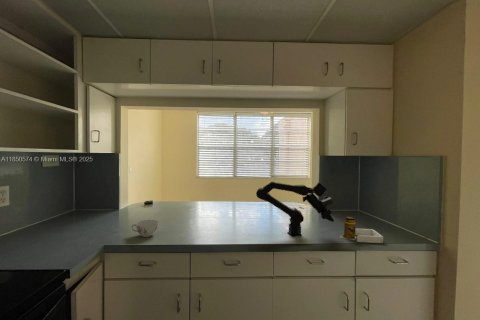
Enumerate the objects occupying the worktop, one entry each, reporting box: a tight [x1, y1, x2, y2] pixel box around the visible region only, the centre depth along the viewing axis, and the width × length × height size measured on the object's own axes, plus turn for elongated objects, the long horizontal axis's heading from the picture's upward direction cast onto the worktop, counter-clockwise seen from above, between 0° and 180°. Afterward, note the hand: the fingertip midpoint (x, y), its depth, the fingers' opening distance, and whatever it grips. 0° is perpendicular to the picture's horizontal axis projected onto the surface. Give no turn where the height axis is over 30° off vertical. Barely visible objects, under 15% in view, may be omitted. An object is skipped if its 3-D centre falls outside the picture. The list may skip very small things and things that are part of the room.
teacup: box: [131, 219, 159, 238], centre depth 149 cm, size 15×12×8 cm
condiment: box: [339, 216, 357, 241], centre depth 151 cm, size 7×8×12 cm
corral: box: [355, 228, 384, 244], centre depth 150 cm, size 14×14×4 cm
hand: (333, 221), depth 152 cm, fingers closed
